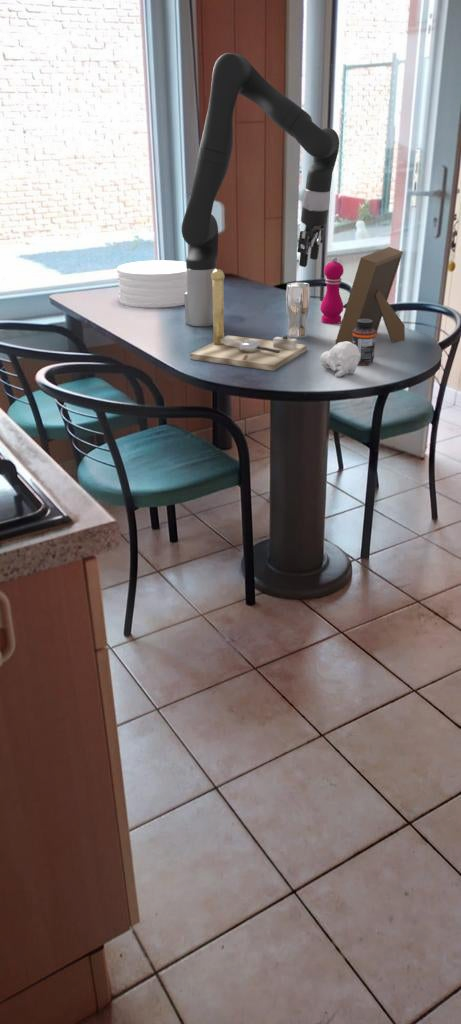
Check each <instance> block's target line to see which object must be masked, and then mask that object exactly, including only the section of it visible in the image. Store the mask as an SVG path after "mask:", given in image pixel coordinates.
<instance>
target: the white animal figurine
mask: <svg viewBox="0 0 461 1024" xmlns="http://www.w3.org/2000/svg"><path fill="white" fill-rule="evenodd" d="M360 356H361V354H360V352H359V349H358V347H357V346H356V345H355V344H353V343H351V342H348V341H344V342H339V343H338V344H335V345H333V347H331V349H330V350H326V351H324V352H323V353H321V355H320V357H319V358H320V359H319V360H320V363H321V364H320V365H321V366H322V367H323V369H330V368H331V370H332V371H334V372H335V371H337V367H341V369H340V370H338V371H337V372H336V373H334V377H336V378H340V377H343V376H344V375H346V374H347V372H348V374H349V375H353V374H355V371H356V370H357V366H359V365H358V363H359V359H360Z"/></svg>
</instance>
